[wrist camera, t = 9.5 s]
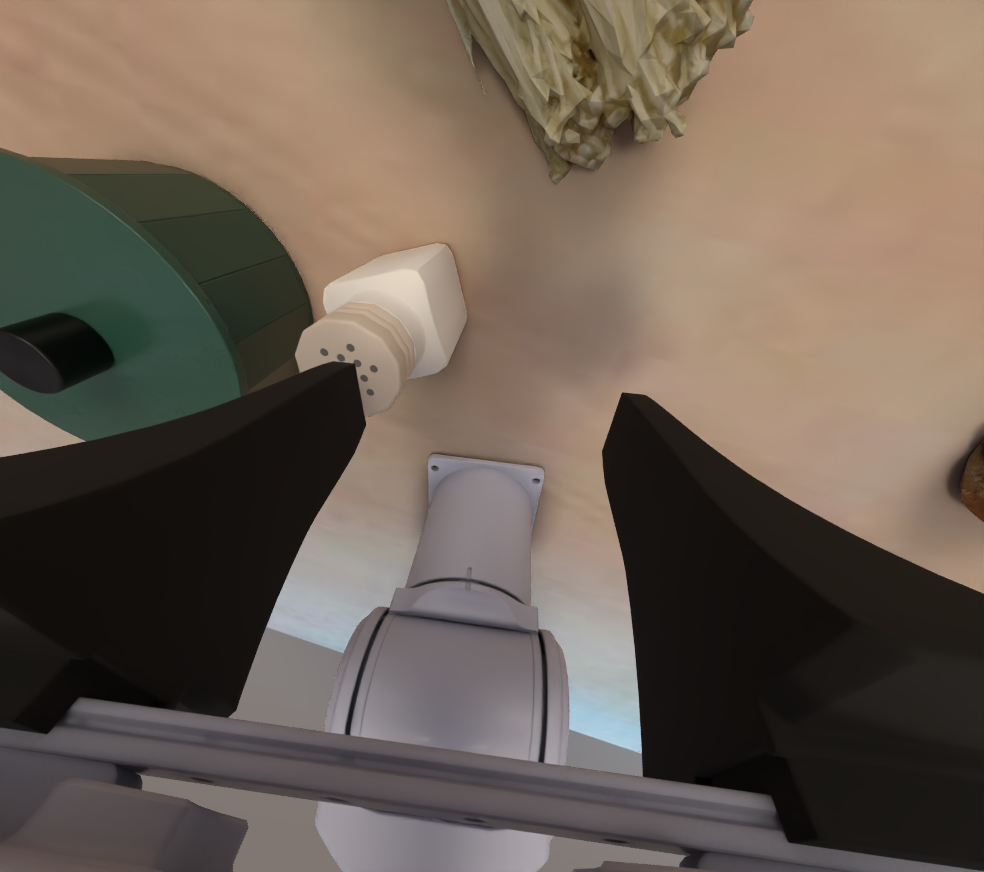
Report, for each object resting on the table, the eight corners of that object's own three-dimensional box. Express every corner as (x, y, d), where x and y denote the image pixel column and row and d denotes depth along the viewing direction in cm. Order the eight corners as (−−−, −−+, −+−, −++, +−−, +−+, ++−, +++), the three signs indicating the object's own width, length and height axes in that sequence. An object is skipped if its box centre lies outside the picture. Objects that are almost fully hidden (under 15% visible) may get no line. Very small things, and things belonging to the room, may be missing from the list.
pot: (345, 376, 22) (288, 439, 17) (189, 397, 24) (94, 458, 19) (238, 136, 15) (89, 118, 10) (35, 192, 17) (-175, 199, 12)
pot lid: (306, 438, 17) (268, 482, 15) (105, 457, 19) (42, 499, 17) (110, 99, 10) (-24, 75, 8) (-168, 187, 13) (-343, 191, 10)
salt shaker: (452, 238, 17) (385, 291, 9) (471, 321, 19) (431, 420, 11) (373, 255, 18) (252, 318, 10) (401, 334, 20) (319, 434, 12)
